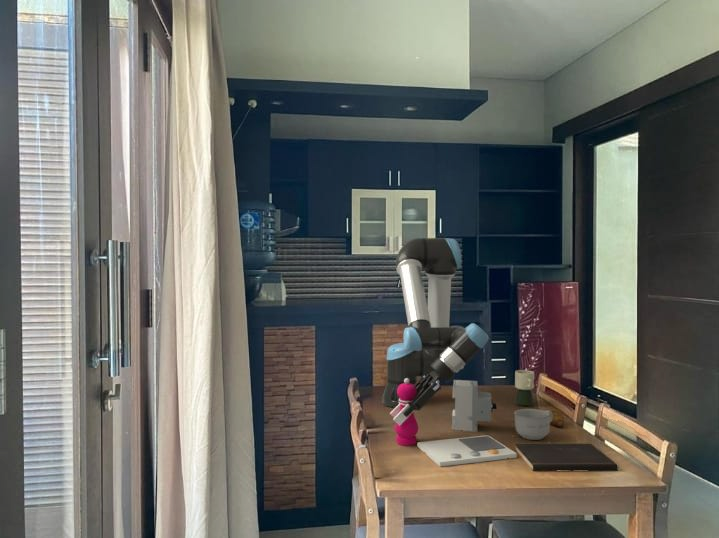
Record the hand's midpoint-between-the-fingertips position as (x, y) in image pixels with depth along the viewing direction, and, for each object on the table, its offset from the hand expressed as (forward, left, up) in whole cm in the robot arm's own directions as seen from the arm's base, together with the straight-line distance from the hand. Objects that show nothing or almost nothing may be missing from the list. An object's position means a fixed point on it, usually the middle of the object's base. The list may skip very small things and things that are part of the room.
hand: (394, 419), depth 164 cm
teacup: (+7, +46, -8) cm, 47 cm away
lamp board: (+13, +18, -7) cm, 23 cm away
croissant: (-4, +60, -8) cm, 61 cm away
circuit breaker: (-6, +31, -8) cm, 32 cm away
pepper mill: (+1, +4, -7) cm, 8 cm away
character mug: (-25, +63, -7) cm, 68 cm away
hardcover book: (+26, +42, -8) cm, 50 cm away
